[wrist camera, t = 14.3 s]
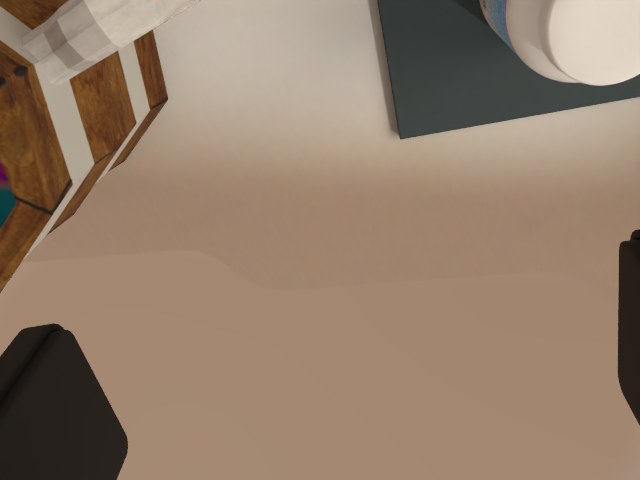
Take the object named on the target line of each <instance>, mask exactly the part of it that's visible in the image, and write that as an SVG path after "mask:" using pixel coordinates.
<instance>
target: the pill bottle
mask: <svg viewBox="0 0 640 480" xmlns="http://www.w3.org/2000/svg"><path fill="white" fill-rule="evenodd" d="M480 5H481V9H482V12H483V14H484V17H485V19H486V20H487V22H488V24H489V25H490V27H491V28H492V29H493V30H494V31H495V32H496V33H497V34H498V35H499V36H500V38H501V39H502V40H503V41H504V42H505V43H506V44H507V45H508V46H509V47H510V48H511V49H512V50H513V51H514V52H515V53H516V54H517V56H518V57H519V58H520V59H521V60H522V61H523V62H524V63H525V64H526V65H527V66H528V67H530V68H531V69H532V70H534V71H535V72H537V73H538V74H540V75H542V76H544V77H547V78H550V79H552V80H556V81H561V82H569V83H584V84H588V85H598V86H604V85H612V84H616V83H620V82H623V81H626V80H628V79H631V78H633V77H635V76H637V75H639V74H640V0H480Z"/></svg>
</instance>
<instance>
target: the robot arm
mask: <svg viewBox="0 0 640 480" xmlns="http://www.w3.org/2000/svg"><path fill="white" fill-rule="evenodd" d="M618 319H619V320H618V378H619V383H620V386H621V390H622V392H623V395H624V397H625V399H626V400H627V402H628V404H629V406H630V408H631V410H632V412H633V414H634V416H635V418H636V419H637V421H638V423H639V425H640V230H635V231H634V232H632V235H631V239H630V241H623V242H622V243H621V244H620V247H619V310H618ZM127 450H128V441H127V436H126V434H125V432H124V430H123V428H122V426H121V424H120V422H119V420H118V418H117V417H116V415H115V413H114V411H113V409H112V407H111V405H110V403H109V401H108V400H107V398H106V396H105V394H104V392H103V390H102V388H101V386H100V384H99V382H98V380H97V379H96V377H95V375H94V373H93V371H92V369H91V367H90V365H89V363H88V362H87V360H86V358H85V356H84V354H83V352H82V350H81V348H80V346H79V344H78V343H77V341H76V339H75V337H74V335H73V334H72V333H71V332H70V331H68V330H64V329H63V327H61V326H60V325H59V324H48V325H42V326H36V327H30V328H25V329H23V330H21V331H20V332H19V333H18V335H17V336H16V337H15V338H14V340H13V341H12V342H11V344H10V345H9V346H8V348H7V349H6V350H5V351H4V353H3V354H2V355H1V357H0V480H117V477H118V475H119V472H120V470H121V468H122V465H123V463H124V460H125V458H126V455H127Z"/></svg>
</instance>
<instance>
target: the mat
mask: <svg viewBox="0 0 640 480" xmlns="http://www.w3.org/2000/svg"><path fill="white" fill-rule="evenodd" d="M378 6H379V12H380V18H381V25H382V31H383V37H384V43H385V49H386V55H387V61H388V67H389V74H390V80H391V86H392V92H393V98H394V104H395V110H396V117H397V123H398V129H399V135H400V139H405V138H411V137H416V136H422V135H428V134H433V133H439V132H445V131H450V130H456V129H461V128H467V127H473V126H478V125H484V124H489V123H495V122H501V121H506V120H512V119H517V118H523V117H529V116H534V115H540V114H546V113H551V112H557V111H562V110H568V109H574V108H579V107H585V106H590V105H596V104H602V103H607V102H613V101H619V100H624V99H630V98H635V97H640V74H639V75H637V76H635V77H633V78H631V79H628V80H626V81H623V82H620V83H616V84H612V85H604V86H598V85H588V84H584V83H569V82H561V81H556V80H552V79H550V78H547V77H544V76H542V75H540V74H538V73H537V72H535V71H534V70H532V69H531V68H530V67H528V66H527V65H526V64H525V63H524V62H523V61H522V60H521V59H520V58H519V57H518V56H517V54H516V53H515V52H514V51H513V50H512V49H511V48H510V47H509V46H508V45H507V44H506V43H505V42H504V41H503V40H502V39H501V38H500V36H499V35H498V34H497V33H496V32H495V31H494V30H493V29H492V28H491V27H490V25H489V24H488V22H487V20H486V19H485V17H484V14H483V12H482V9H481V5H480V0H378Z"/></svg>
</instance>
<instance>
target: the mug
mask: <svg viewBox="0 0 640 480" xmlns="http://www.w3.org/2000/svg"><path fill="white" fill-rule="evenodd" d="M198 1H200V0H0V293H1V291H2V290H3V288H4V287H5V285H6V284H7V282H8V281H9V280H10V278H11V277H12V275H13V274H14V272H15V271H16V269H17V268H18V266H19V265H20V263H21V262H22V261H23V259H24V258H25V257H26V256H27V255H28V254H29V253H30V252H31V251H32V250H33V249H34V248H35V247H36V246H37V245H38V244H39V243H40V242H41V241H42V240H43V239H44V238H45V237H46V236H47V235H48V234H49V233H51V232H52V231H53V230H54V229H56V228H57V227H58V226H60V225H61V224H62V223H63V222H65V221H66V220H67V219H68V218H70V217H71V216H72V215H74V214H75V212H76V211H77V209H78V208H79V206H80V205H81V203H82V202H83V200H84V199H85V198H86V196H87V195H88V193H89V192H90V190H91V189H92V188H93V186H94V185H95V184H96V183H97V182H98V181H99V180H100V179H101V178H102V177H103V176H104V175H105V174H106V173H107V172H108V171H110V170H111V169H113V168H114V167H116V166H117V165H119V164H121V163H122V162H124V161H125V160H126V158H127V157H128V156H129V154H130V153H131V151H132V150H133V149H134V147H135V146H136V144H137V143H138V141H139V140H140V139H141V137H142V136H143V134H144V133H145V131H146V130H147V129H148V127H149V126H150V124H151V123H152V121H153V120H154V119H155V117H156V116H157V114H158V113H159V112H160V110H161V109H162V107H163V106H164V104H165V103H166V102H167V100H168V96H167V92H166V87H165V83H164V78H163V74H162V69H161V65H160V60H159V56H158V51H157V47H156V43H155V38H154V34H153V29H154V28H156V27H157V26H159V25H161V24H162V23H164V22H166V21H167V20H169V19H171V18H172V17H174V16H176V15H177V14H179V13H181V12H182V11H184V10H185V9H187V8H189V7H190V6H192V5H194V4H195V3H197V2H198Z"/></svg>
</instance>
